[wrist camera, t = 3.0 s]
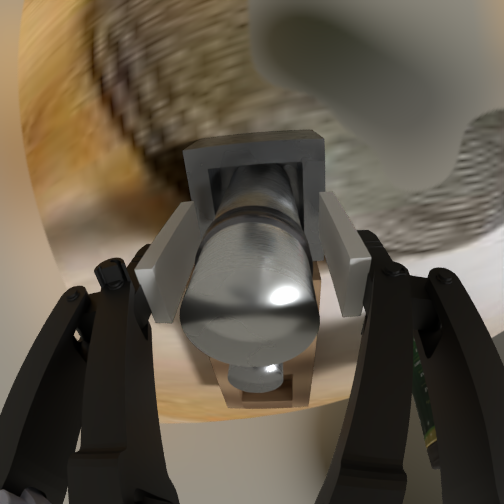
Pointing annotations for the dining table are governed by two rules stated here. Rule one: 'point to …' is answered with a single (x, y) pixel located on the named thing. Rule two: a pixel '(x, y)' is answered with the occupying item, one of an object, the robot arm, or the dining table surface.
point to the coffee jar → (424, 409)
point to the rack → (294, 375)
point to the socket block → (259, 152)
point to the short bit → (256, 378)
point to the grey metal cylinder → (253, 275)
